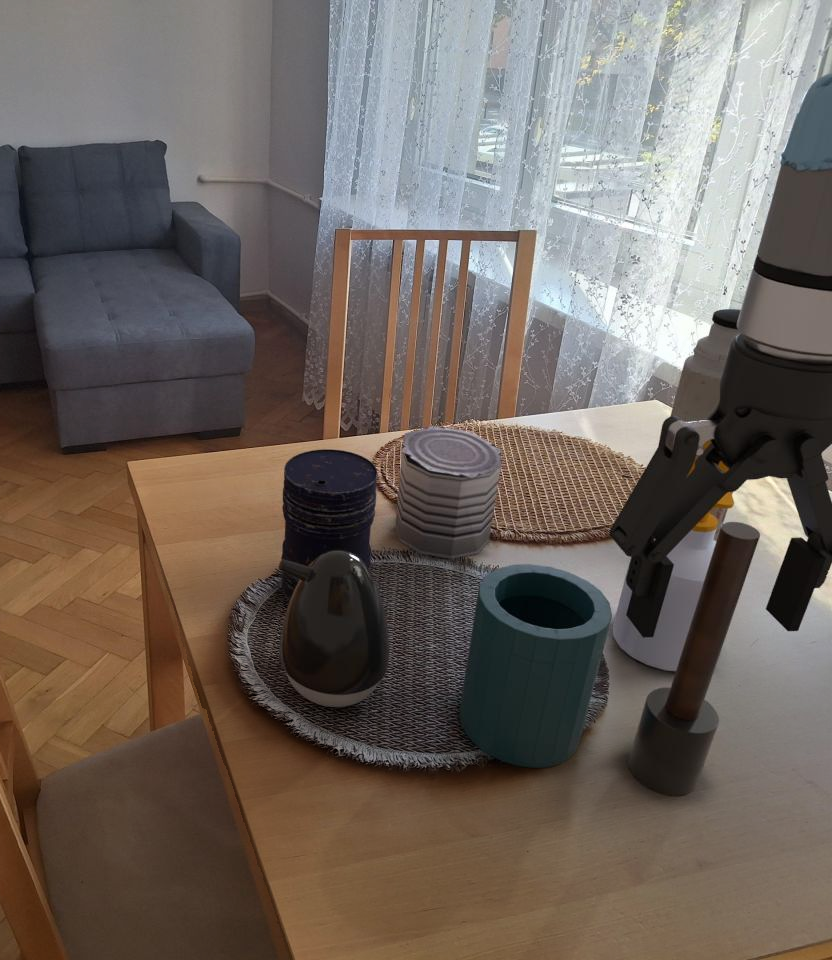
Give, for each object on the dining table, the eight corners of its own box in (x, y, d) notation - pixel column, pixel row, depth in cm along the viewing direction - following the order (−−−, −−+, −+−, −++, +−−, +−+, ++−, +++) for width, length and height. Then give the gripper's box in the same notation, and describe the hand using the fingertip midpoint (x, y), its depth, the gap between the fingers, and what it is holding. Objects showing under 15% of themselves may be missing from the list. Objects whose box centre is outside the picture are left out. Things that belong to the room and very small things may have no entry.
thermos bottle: (725, 542, 102) (798, 313, 88) (697, 569, 97) (770, 332, 84) (657, 517, 107) (716, 298, 94) (627, 541, 103) (685, 315, 89)
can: (438, 500, 112) (448, 417, 107) (509, 538, 104) (525, 450, 98) (374, 528, 107) (381, 442, 101) (444, 570, 99) (456, 479, 93)
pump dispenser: (277, 649, 88) (279, 522, 80) (380, 653, 86) (392, 525, 79) (275, 721, 79) (278, 586, 71) (390, 727, 78) (405, 591, 70)
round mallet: (676, 746, 75) (755, 510, 63) (709, 794, 70) (800, 549, 58) (617, 749, 74) (684, 513, 63) (646, 797, 70) (725, 552, 58)
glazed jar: (552, 683, 82) (579, 561, 75) (599, 765, 73) (634, 636, 66) (445, 687, 82) (463, 566, 75) (480, 770, 73) (503, 642, 66)
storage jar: (298, 554, 102) (301, 442, 95) (379, 573, 99) (389, 458, 91) (267, 600, 95) (268, 482, 87) (354, 623, 91) (363, 501, 84)
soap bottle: (613, 662, 84) (673, 437, 72) (610, 608, 91) (664, 396, 80) (717, 683, 81) (797, 452, 69) (705, 626, 88) (776, 408, 77)
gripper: (934, 316, 57) (826, 587, 68) (596, 329, 57) (541, 599, 68) (1033, 356, 51) (896, 649, 61) (652, 371, 51) (581, 662, 61)
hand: (710, 622), depth 65 cm, fingers open, 10 cm apart
